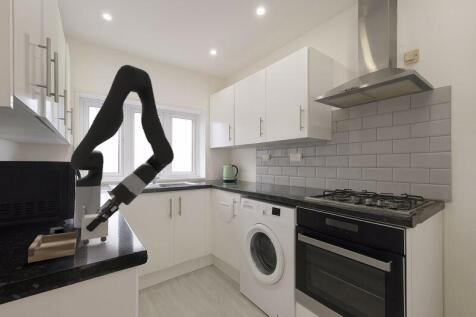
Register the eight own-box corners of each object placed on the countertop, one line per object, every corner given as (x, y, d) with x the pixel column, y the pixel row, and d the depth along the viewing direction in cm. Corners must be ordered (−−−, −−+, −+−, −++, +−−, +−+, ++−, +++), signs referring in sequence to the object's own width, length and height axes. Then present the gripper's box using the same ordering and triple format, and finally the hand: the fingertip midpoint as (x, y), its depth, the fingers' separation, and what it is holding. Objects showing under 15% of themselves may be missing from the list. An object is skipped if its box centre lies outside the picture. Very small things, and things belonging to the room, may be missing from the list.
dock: (37, 247, 71) (38, 235, 71) (76, 241, 76) (76, 230, 76) (27, 262, 59) (28, 248, 59) (74, 254, 65) (74, 241, 65)
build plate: (76, 241, 78) (76, 228, 78) (50, 248, 71) (51, 233, 72) (61, 235, 84) (62, 223, 84) (36, 241, 78) (37, 228, 78)
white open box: (81, 240, 73) (82, 205, 73) (106, 236, 77) (107, 203, 77) (81, 245, 69) (81, 208, 69) (107, 241, 73) (108, 205, 73)
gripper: (119, 180, 83) (79, 216, 76) (124, 183, 72) (77, 226, 64) (134, 193, 86) (96, 229, 79) (141, 198, 74) (98, 241, 67)
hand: (88, 227), depth 72 cm, fingers closed on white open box, 5 cm apart
